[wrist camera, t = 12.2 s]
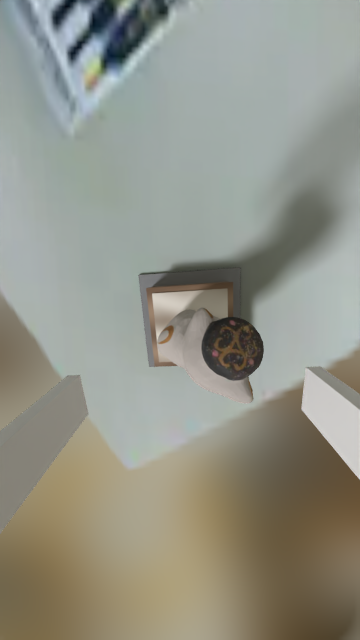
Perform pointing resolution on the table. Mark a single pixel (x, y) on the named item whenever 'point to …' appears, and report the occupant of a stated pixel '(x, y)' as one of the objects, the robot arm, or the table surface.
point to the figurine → (214, 351)
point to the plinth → (185, 306)
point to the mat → (184, 279)
